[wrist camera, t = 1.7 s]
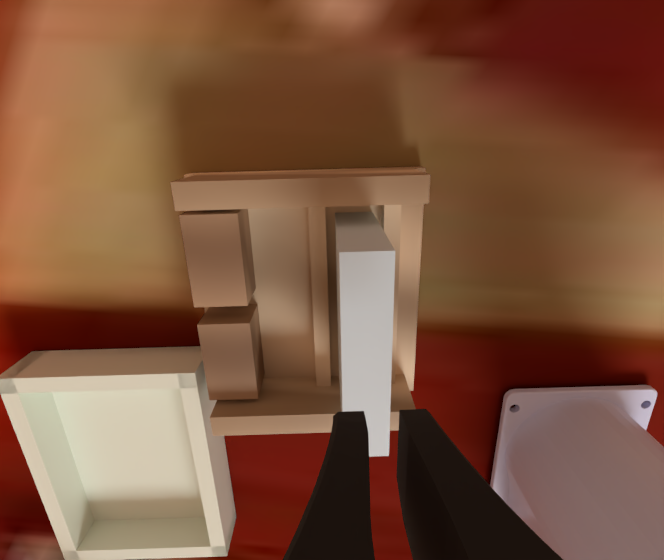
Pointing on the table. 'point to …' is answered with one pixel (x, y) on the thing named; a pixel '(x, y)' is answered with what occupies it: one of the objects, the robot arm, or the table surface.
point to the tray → (123, 451)
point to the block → (365, 321)
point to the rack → (313, 283)
